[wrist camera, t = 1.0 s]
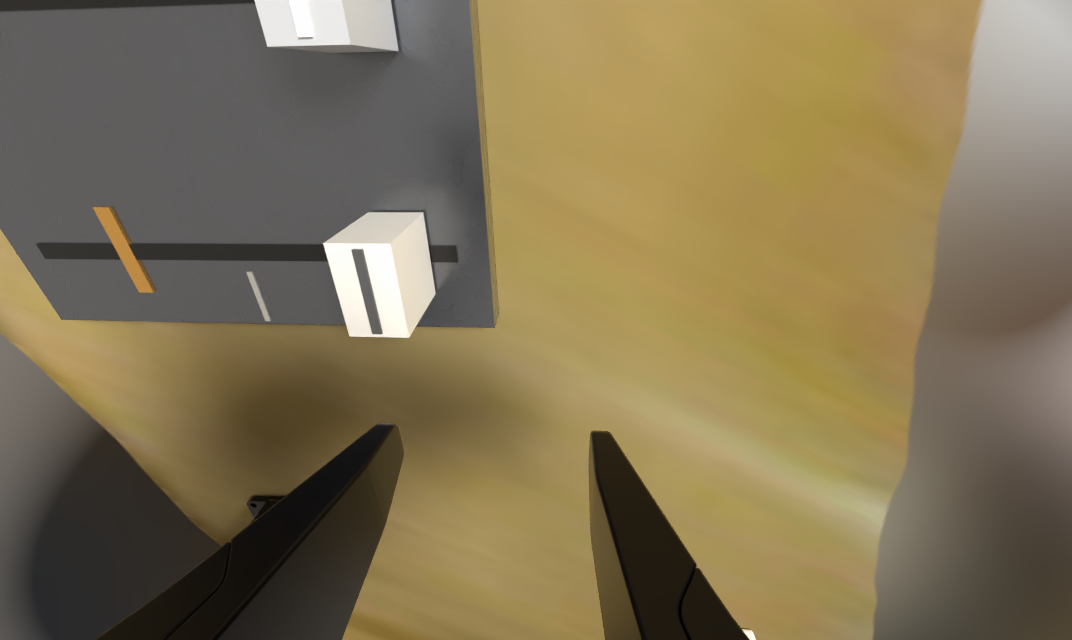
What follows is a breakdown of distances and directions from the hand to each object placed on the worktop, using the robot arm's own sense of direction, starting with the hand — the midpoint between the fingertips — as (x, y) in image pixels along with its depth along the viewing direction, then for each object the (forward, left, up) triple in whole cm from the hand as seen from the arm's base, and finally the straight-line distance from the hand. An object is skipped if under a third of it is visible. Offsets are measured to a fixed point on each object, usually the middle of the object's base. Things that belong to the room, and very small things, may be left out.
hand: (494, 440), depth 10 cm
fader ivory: (0, +6, -11) cm, 13 cm away
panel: (+5, +14, -13) cm, 20 cm away
